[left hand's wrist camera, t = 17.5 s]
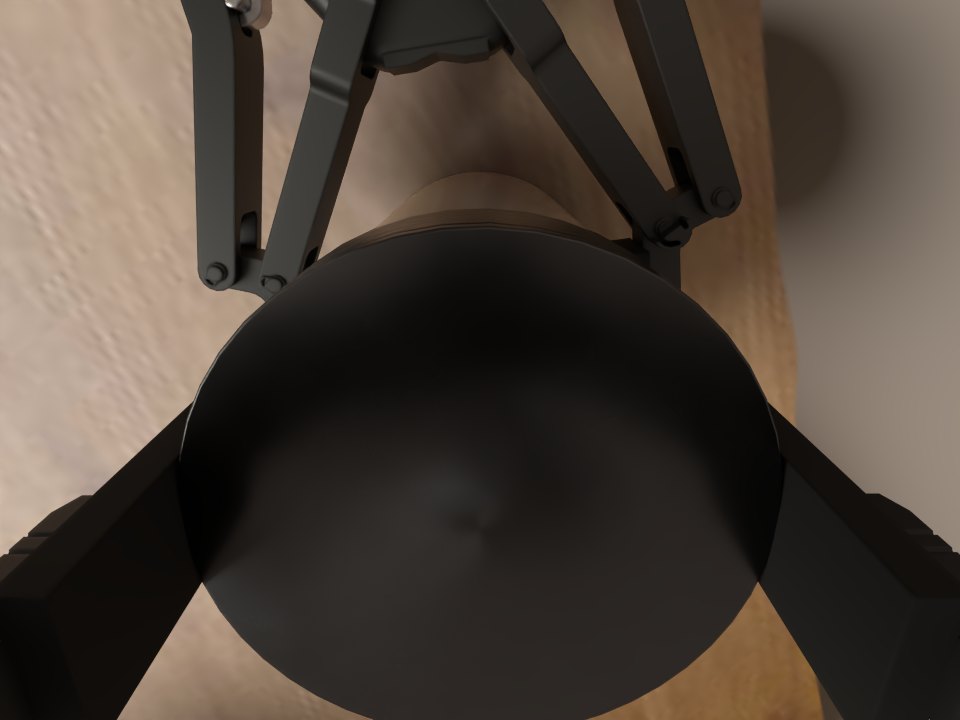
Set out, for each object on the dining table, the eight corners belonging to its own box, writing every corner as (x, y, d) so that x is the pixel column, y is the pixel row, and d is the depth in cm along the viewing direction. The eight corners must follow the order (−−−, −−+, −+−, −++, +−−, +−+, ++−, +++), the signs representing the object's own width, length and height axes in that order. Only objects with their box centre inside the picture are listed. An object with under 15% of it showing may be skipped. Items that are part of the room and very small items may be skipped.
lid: (122, 369, 12) (42, 421, 10) (606, 92, 10) (640, 82, 8) (398, 703, 15) (384, 796, 13) (796, 542, 13) (856, 621, 11)
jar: (527, 127, 25) (617, 114, 9) (622, 326, 28) (819, 591, 12) (329, 241, 27) (91, 411, 10) (440, 416, 30) (393, 756, 14)
